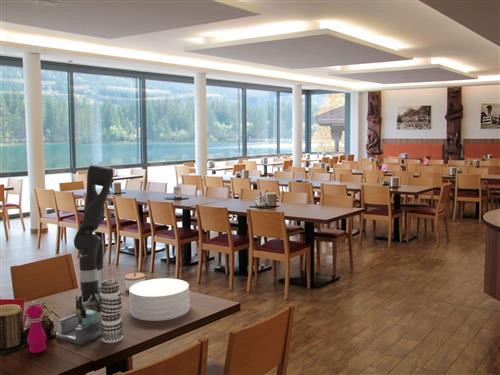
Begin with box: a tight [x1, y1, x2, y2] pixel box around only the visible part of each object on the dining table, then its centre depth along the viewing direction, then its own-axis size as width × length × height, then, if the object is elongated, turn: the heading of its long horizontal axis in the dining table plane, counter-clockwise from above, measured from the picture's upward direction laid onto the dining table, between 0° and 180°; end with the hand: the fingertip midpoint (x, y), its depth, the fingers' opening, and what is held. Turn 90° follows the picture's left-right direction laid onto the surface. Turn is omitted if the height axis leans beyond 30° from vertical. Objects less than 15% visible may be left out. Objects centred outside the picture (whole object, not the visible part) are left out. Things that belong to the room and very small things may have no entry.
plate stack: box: [128, 277, 191, 322], centre depth 261 cm, size 28×28×12 cm
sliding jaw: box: [56, 313, 80, 334], centre depth 234 cm, size 2×9×6 cm, turn 147°
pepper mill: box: [26, 300, 48, 354], centre depth 218 cm, size 7×7×20 cm
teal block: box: [81, 309, 99, 326], centre depth 242 cm, size 6×4×7 cm, turn 57°
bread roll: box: [71, 307, 91, 325], centre depth 250 cm, size 10×10×8 cm
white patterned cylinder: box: [98, 278, 124, 344], centre depth 227 cm, size 9×9×25 cm
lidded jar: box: [124, 271, 146, 290], centre depth 294 cm, size 11×11×9 cm
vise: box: [55, 319, 102, 346], centre depth 231 cm, size 15×11×6 cm
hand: (91, 314), depth 241 cm, fingers open, 8 cm apart
